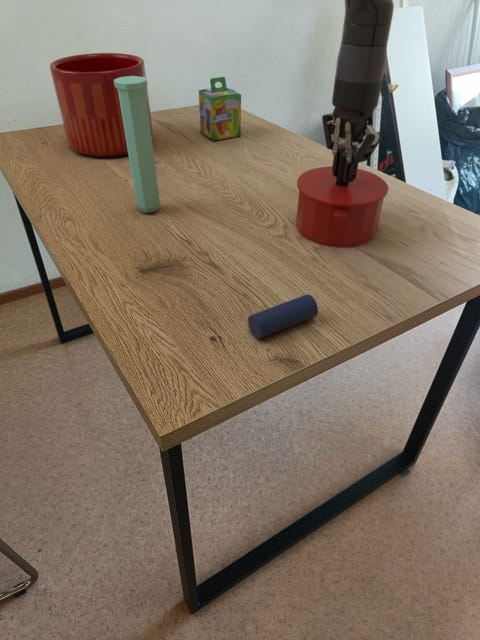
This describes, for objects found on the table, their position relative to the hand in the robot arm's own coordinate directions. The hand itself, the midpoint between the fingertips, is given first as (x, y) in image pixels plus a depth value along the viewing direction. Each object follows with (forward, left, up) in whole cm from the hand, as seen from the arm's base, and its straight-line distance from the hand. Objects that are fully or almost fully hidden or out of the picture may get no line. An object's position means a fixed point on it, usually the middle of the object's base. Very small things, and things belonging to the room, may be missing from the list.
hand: (342, 178), depth 84 cm
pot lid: (0, 0, -2) cm, 2 cm away
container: (+39, 0, -10) cm, 40 cm away
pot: (0, 0, -10) cm, 10 cm away
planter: (+62, -36, -10) cm, 72 cm away
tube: (+7, +32, -10) cm, 34 cm away
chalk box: (+34, -49, -10) cm, 60 cm away
